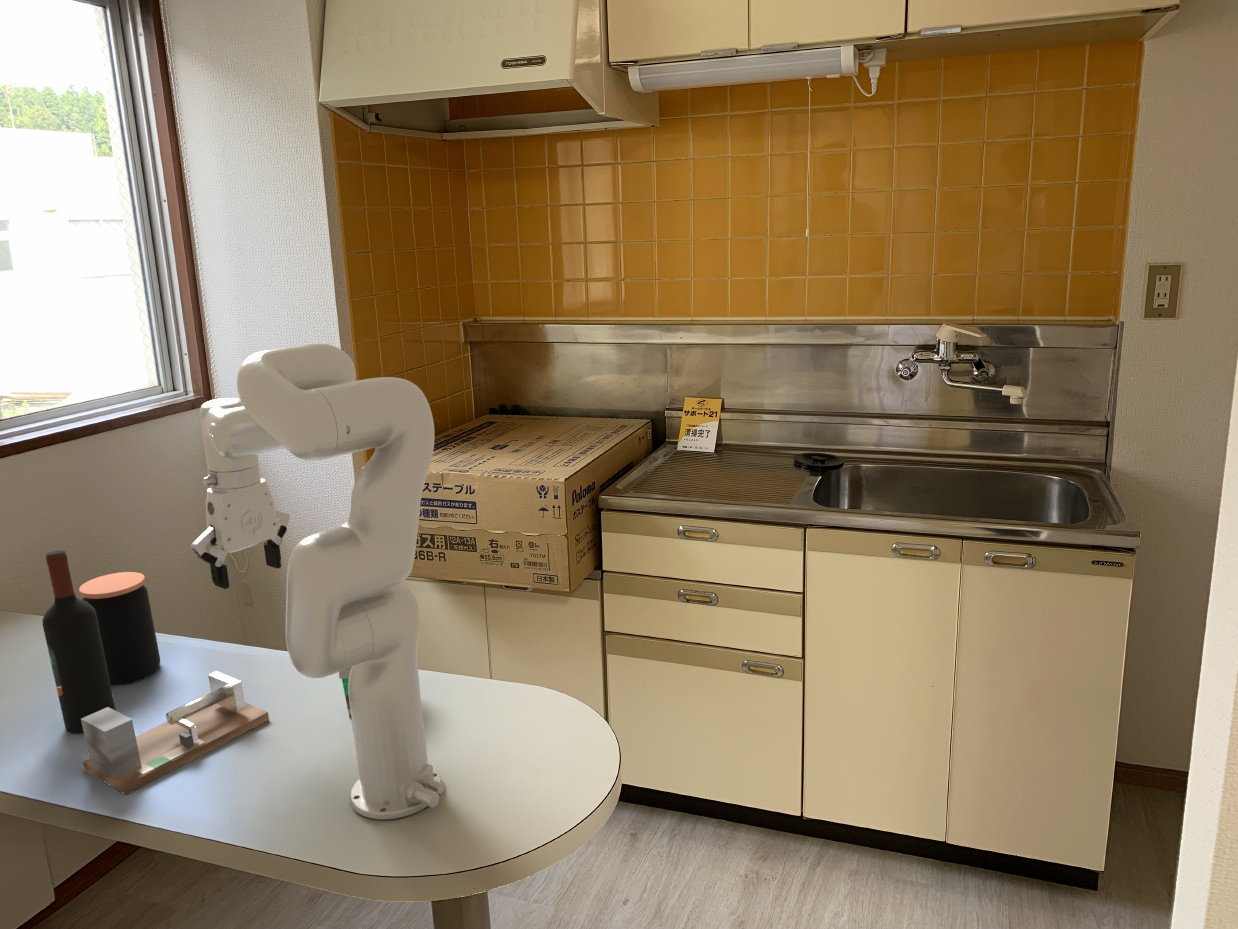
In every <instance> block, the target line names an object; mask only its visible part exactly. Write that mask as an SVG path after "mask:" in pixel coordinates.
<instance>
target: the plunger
mask: <svg viewBox="0 0 1238 929" xmlns="http://www.w3.org/2000/svg"><path fill="white" fill-rule="evenodd" d="M207 676H208V680H209V687H210V692H209V693H207V694H205V695H202V696H201V697H199V698H196V699H193V700H192V701H190V702H188V703H186V704H183V705H181V706H178V707H177V708H174V709H172V710H171V711H168V712H166V714H165V718H166V722H167V721H168V723H169V724H171V725H173V724H177V725H179V726H181V727H183V728H185V729H188V730H189V733H190V734H192V736H193V742H194V741H196V740H198V735H197V730H196V727H195V724H194V723H191V722H189V721H187V720H185V718H187V717H189V716H191V715H193V714H196V713H198V712H200V711H202V710H204V709H206V708H208V707H210V706H212V705H214V704H219V705H221V706H223V707H225V708H228V709H230V710H232V711H235V712H237V713H238V712H240V711H242V710H244V709H246V707H245V703H246V702H245V695H244V690H243V689H244V688H243V683H242V681H241V680H240V679H237V678H234V677H232V676H229V675H227V674H225V673H222V672H220V671H218V670H215V671H213V672H211V673H209V674H208V675H207Z"/></svg>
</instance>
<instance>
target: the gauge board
mask: <svg viewBox="0 0 1238 929" xmlns="http://www.w3.org/2000/svg"><path fill="white" fill-rule="evenodd" d="M245 707H246V709H244V710H242V711H240V712H238V713H237V712H235V711H232V710H230V709H228V708H225V707H223V706H221V705H219V704H214V705H212V706H210V707H208V708H206V709H204V710H202V711H200V712H198V713H196V714H193V715H191V716H189V717H187V718H185V720H187V721H189V722H191V723H194V724H195V727H196V730H197V735H198V740H196V741H194V745H193V746H191V747H189V748H187V747H185V746H183V745H181V743H180V738H179V734H180V733H182V732H184V731H186V732H188V733H189V730H188V729H185V728H183V727H181V726H179V725H177V724H173V725H171V724H169V723H168V721H167V720H166V721H165V722H164V723H161V724H159V725H156V726H154V727H153V728H151V729H149V730H146V731H144V732H142V733H141V734H138V735H136V732H135V727H134V722H133V721H134V720H133V719H132V718H130V717H129V716H126V715H124V714H122V713H120V712H119V711H115V710H113V709H111V708H109V707H107V708H104V709H102V710H100V711H98V712H95V713H93V714H91V715H88V716H86V717H84V718H82V719H81V722H82V727H83V732H84V734H83V736H84V741H85V745H86V749H87V755H88V759H86V760H84V761H82V764H83V770H84V772H87V773H88V774H90V775H92V776H93V777H95V778H96V777H97V778H96V779H98V780H100V779H101V780H100V781H102V782H103V781H105V782H106V783H105V782H104V783H105V784H107V783H108V784H110V785H111V786H110V785H109V786H110V787H112V786H113V787H115V788H116V789H115V788H114V789H115V790H117V789H118V790H119V792H120V791H121V792H120V793H122V792H123V793H124V795H125V794H127V795H128V793H129V792H131V791H133V792H134V790H135V791H136V790H138V789H140V788H143V787H144V786H146V785H148V784H150V783H152V782H154V781H156V780H158V779H159V777H160V778H161V777H163V776H165V775H167V774H169V773H171V772H173V771H175V770H177V769H179V768H181V767H182V766H184V765H187V764H188V763H190V762H192V761H194V760H196V759H198V758H200V757H202V756H204V755H205V753H206V754H207V753H209V752H211V751H213V750H215V749H217V748H219V747H220V745H221V746H223V745H225V744H227V743H228V742H227V741H229V740H231V741H232V740H234V739H236V738H238V737H240V736H242V735H244V734H245V733H244V732H246V733H247V731H248V732H250V731H251V730H250V729H252V730H254V729H255V728H257V727H259V726H261V725H263V724H265V723H267V722H268V721H270V718H269V712H268V711H266V710H264V709H262V708H259V707H257V706H254V705H252V704H250V703H247V702H245ZM264 722H265V723H264ZM253 728H254V729H253ZM249 730H250V731H249ZM243 733H244V734H243ZM241 734H242V735H241ZM239 735H240V736H239ZM237 736H238V737H237ZM235 737H236V738H235ZM233 738H234V739H233ZM226 742H227V743H226ZM229 742H230V741H229ZM224 743H225V744H224ZM222 744H223V745H222ZM203 754H204V755H203ZM199 756H200V757H199ZM180 766H181V767H180ZM155 779H156V780H155ZM153 780H154V781H153ZM147 783H148V784H147ZM108 784H107V785H108ZM113 787H112V788H113ZM118 790H117V791H118ZM123 793H122V794H123ZM131 793H132V792H131ZM129 794H130V793H129Z"/></svg>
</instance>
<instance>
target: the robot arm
mask: <svg viewBox="0 0 1238 929" xmlns="http://www.w3.org/2000/svg"><path fill="white" fill-rule="evenodd" d="M354 364H355V363H354V362H353V360H352V358H351V357H350V356H349V355H348V354H347V353H346V352H345V351H344V350H342V349H341V348H339V347H337V346H334V345H332V344H331V345H330V344H327V343H326V344H325V343H309V344H304V345H297V346H287V347H282V348H275V349H267V350H262V351H258V352H255V353H253V354H251V355H249V356H248V357H247V358H246V359H245V360H244V361H243V362H242V364H241V365H240V368H239V370H238V372H237V377H236V378H237V380H236V386H237V393H238V397H223V398H215V399H210V400H209V401H206V402H204V403H202V405H201V406H200V409H199V420H200V427H201V434H202V441H203V447H204V452H205V453H204V454H205V459H206V467H207V470H206V473H207V476H205V477H203V478H202V480H201V483H202V485H203V486H204V487H207V486H208V487H209V488H207V489H206V499H205V518H206V519H205V520H206V529H205V531H203V532H202V533H201V534H200V535H199V536H198V537H197V538H196V539H195V540H194V541H193V542H191V543H190V548H191V549H192V551H193V552H194V553H195V555H197V558H198V559H200V560H202V561H203V562H205V563H206V564H207V565H209V567H210V574H211V575H210V576H211V580H212V583H213V584H214V586H215V587H218V588H220V589H223V590H227V589H229V588H230V580H229V572H228V567H227V565H226V564H224V562H225V560H226V558H227V555H229V554H231V553H235V552H240V551H243V550H245V549H248V548H251V547H253V546H256V545H260V544H262V543H263V548H264V550H263V551H264V557H265V565H266V566H267V567H268V566H269V567H271V568H274V569H281V568H282V562H281V561H282V554H281V545H282V543H283V538H284V536H285V534H286V532H287V530H288V528H287V526H288V524H289V521H290V516H291V515H290V514H289V513H287V512H283V511H278V510H276V507H275V505H274V501H273V500H274V499H273V498H272V494H271V491H270V488H269V486H268V483H267V480H266V479H265V478H262V477H261V471H260V465H259V457H258V455H260V454H264V453H269V452H275V451H278V450H283V449H286V450H287V451H288V452H289V453H290V454H292V455H293V456H295V458H299V459H300V460H304V461H309V462H311V461H312V462H315V461H324V460H328V459H333V458H336V457H340V456H345V455H349V454H352V453H358V452H362V451H365V450H369V449H370V450H371V449H374V450H375V451H374V452H373V455H372V456H371V457H370V458H369V460H368V461H367V462H366V463H365V465H364V466H363V468H362V469H361V471H360V473H359V474H358V475H357V478H356V480H355V482H354V485H353V487H352V490H351V498H350V511H349V516H348V519H347V520H346V521H345V522H344V523H343V524H340V525H339V526H335V527H332V528H329V529H326V530H322V531H319V532H316V533H313V534H311V535H309V536H306V537H305V538H303V539H301V540H300V541H299V542H298V543H297V544H296V545H295V546H294V548H293V549H292V551H291V553H290V556H289V558H288V563H287V572H286V573H287V574H286V598H285V599H286V602H285V603H286V604H285V605H286V606H285V611H286V612H285V641H286V648H287V652H288V656H289V659H290V661H291V664H292V665H293V666H294V668H295V670H296V671H297V672H299V673H300V674H301V675H303V676H304V677H306V678H310V679H322V678H326V677H330V676H332V675H335V674H337V673H338V674H339V672H340V671H343V670H345V669H347V668H350V667H352V668H351V672H350V676H349V682H348V694H349V703H350V711H351V718H350V719H351V724H352V732H353V740H354V746H355V748H354V749H355V755H356V756H355V757H356V762H357V770H358V778H359V779H358V780H356V782H355V783H354V785H352V787H351V790H350V792H349V793H350V794H349V799H350V804H351V806H352V808H353V809H354V811H355V812H356V813H357V814H359V815H361V816H363V817H366V818H369V819H373V820H395V819H400V818H404V817H407V816H411V815H413V814H416V813H418V812H420V811H422V810H424V809H425V808H427V807H429V808H432V809H433V808H436V807H437V805H438V804H439V802H440V798H441V796H440V794H442V793H444V791H445V790H446V785H445V783H443V782H442V778H441V774H440V772H439V771H438V770H437V769H436V768H434V767H433V765H432V764H429V759H428V750H427V749H428V748H427V741H426V733H425V732H426V731H425V723H424V714H423V706H422V696H421V684H420V676H419V663H418V662H419V661H418V647H419V646H418V644H419V634H420V623H421V621H420V620H421V618H420V617H421V615H420V607H419V603H418V601H417V598H416V596H415V593H414V592H413V591H412V590H411V589H410V588H409V586H407V585H406V584H404V583H403V582H404V581H405V580H407V579H408V578H409V576H410V574H411V573H412V570H413V566H414V562H415V555H416V549H417V541H418V540H417V539H418V530H419V522H420V515H421V514H420V513H421V501H422V496H423V494H422V493H423V490H424V487H425V482H426V480H427V477H428V473H429V470H430V466H431V462H432V459H433V454H434V447H435V424H434V417H433V413H432V410H431V407H430V404H429V401H428V399H427V396H426V395H425V394H424V392H423V391H422V390H421V388H420V387H419V386H418V385H417V384H415V383H413V381H410V380H408V379H405V378H400V377H392V376H391V377H390V376H389V377H388V376H384V377H383V376H382V377H372V378H365V379H360V380H356V379H357V377H356V376H357V373H356V372H357V371H356V367H355V365H354ZM208 544H209V545H210V547H211V548H210V549H209V552H208V551H207V549H206V546H207V545H208Z"/></svg>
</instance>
